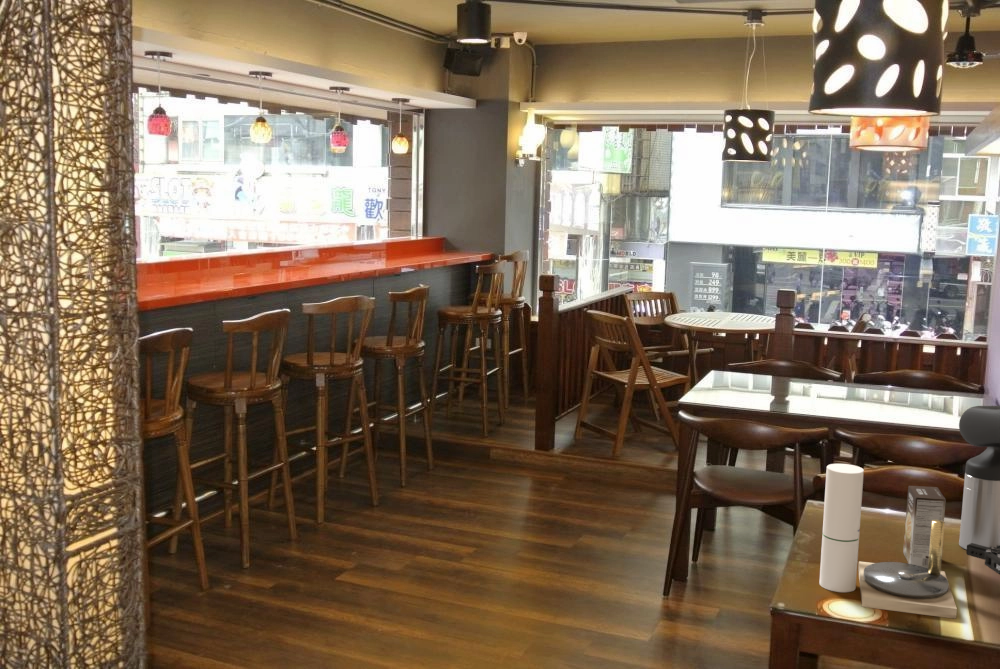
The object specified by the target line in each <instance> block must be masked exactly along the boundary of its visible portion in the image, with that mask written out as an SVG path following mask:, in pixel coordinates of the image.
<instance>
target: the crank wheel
mask: <svg viewBox="0 0 1000 669" xmlns="http://www.w3.org/2000/svg"><path fill="white" fill-rule="evenodd" d="M945 523H946V522H945V520H944V521H941V520H932V524H931V536H930V549H929V561H928V568H925V567H922V566H918V565H913V564H909V563H908V562H906V563H905V562H900V561H898V562H897V561H882V562H873V563H874V564H871V565H868V566H867V567H866V568H865V569H864V576H863V577H864V580H865V581H866V582H867V583H868V584H869V585H870V586H872V587H874V588H876V589H878V590H880V591H883V592H886V593H889V594H893V595H897V596H902V597H909V598H934V597H939V596H942V595H944V594H946V593H947V591H948V583H949V580H948V578H947V579H946V578H945V577H944V576H943V575H941V574H940V571H942V556H943V546H944V532H945Z"/></svg>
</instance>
